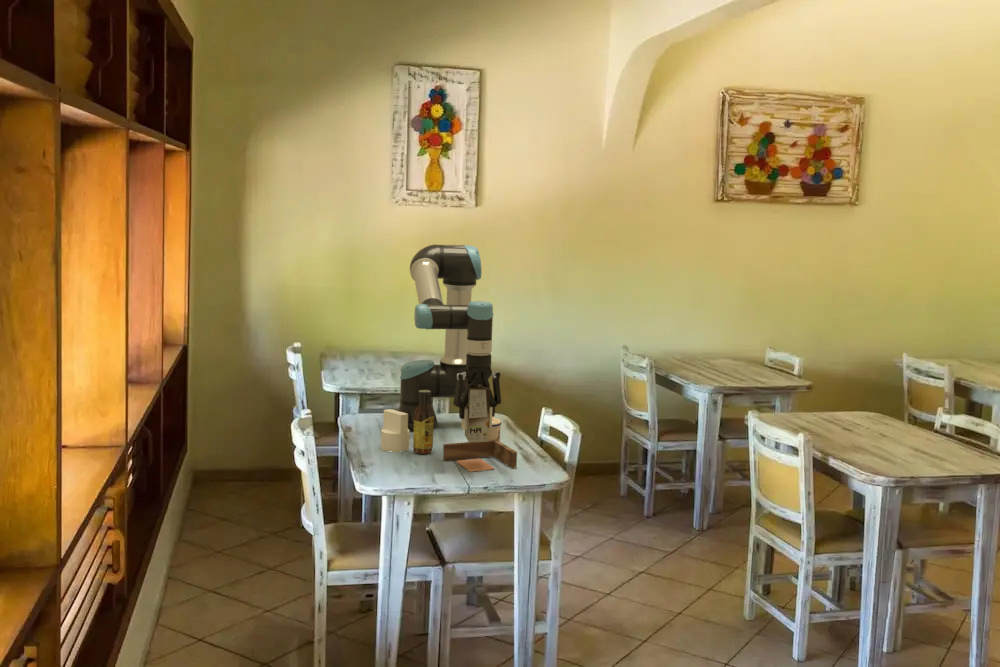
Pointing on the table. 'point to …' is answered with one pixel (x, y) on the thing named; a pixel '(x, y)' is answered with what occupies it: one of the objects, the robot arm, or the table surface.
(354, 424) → the table surface
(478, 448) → the walnut corner walls
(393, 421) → the base with upright slab
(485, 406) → the coffee box
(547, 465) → the table surface
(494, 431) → the teacup with lid
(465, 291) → the robot arm
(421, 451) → the sauce bottle
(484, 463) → the terracotta mat
